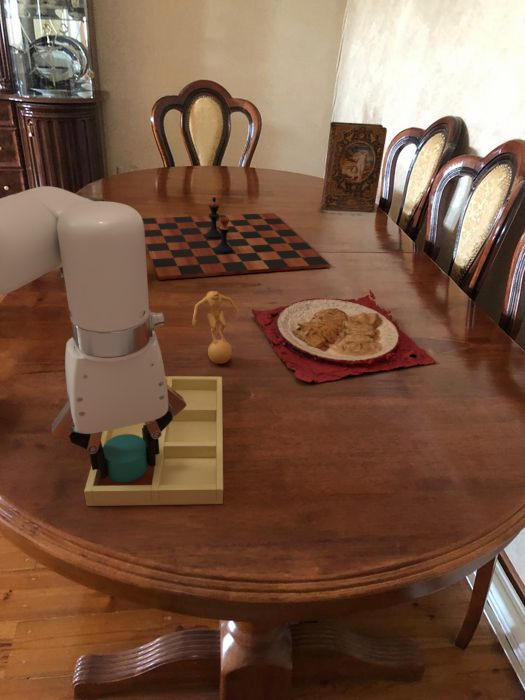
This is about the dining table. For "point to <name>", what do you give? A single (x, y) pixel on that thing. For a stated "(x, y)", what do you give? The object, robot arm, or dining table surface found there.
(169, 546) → the dining table surface
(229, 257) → the chessboard
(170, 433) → the grid
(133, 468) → the cylinder
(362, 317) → the plate with food
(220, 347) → the figurine
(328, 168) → the book
